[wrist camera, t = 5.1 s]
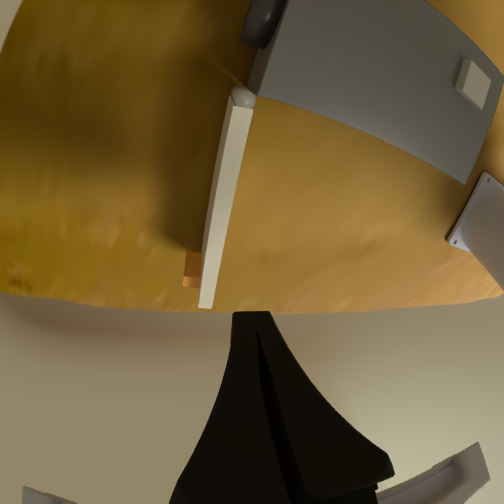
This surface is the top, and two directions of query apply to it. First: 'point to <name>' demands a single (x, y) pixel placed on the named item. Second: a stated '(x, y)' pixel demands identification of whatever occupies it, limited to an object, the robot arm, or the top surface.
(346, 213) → the top surface
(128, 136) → the top surface
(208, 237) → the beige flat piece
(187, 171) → the top surface
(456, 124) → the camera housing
